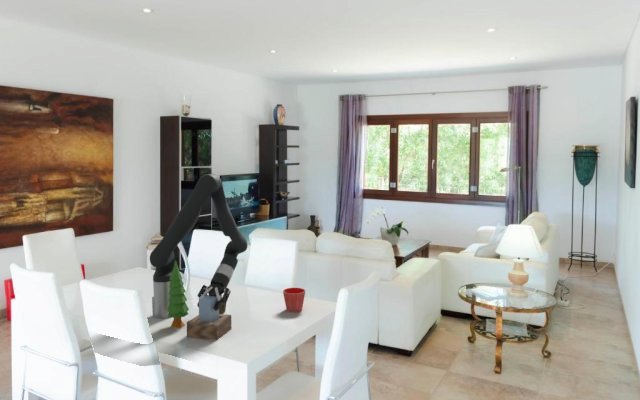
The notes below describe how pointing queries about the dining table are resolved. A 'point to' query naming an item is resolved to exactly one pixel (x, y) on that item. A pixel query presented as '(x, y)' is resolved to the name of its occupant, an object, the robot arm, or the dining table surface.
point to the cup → (222, 308)
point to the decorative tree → (177, 298)
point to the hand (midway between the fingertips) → (206, 308)
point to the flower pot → (294, 299)
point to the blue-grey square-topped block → (208, 309)
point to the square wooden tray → (209, 328)
